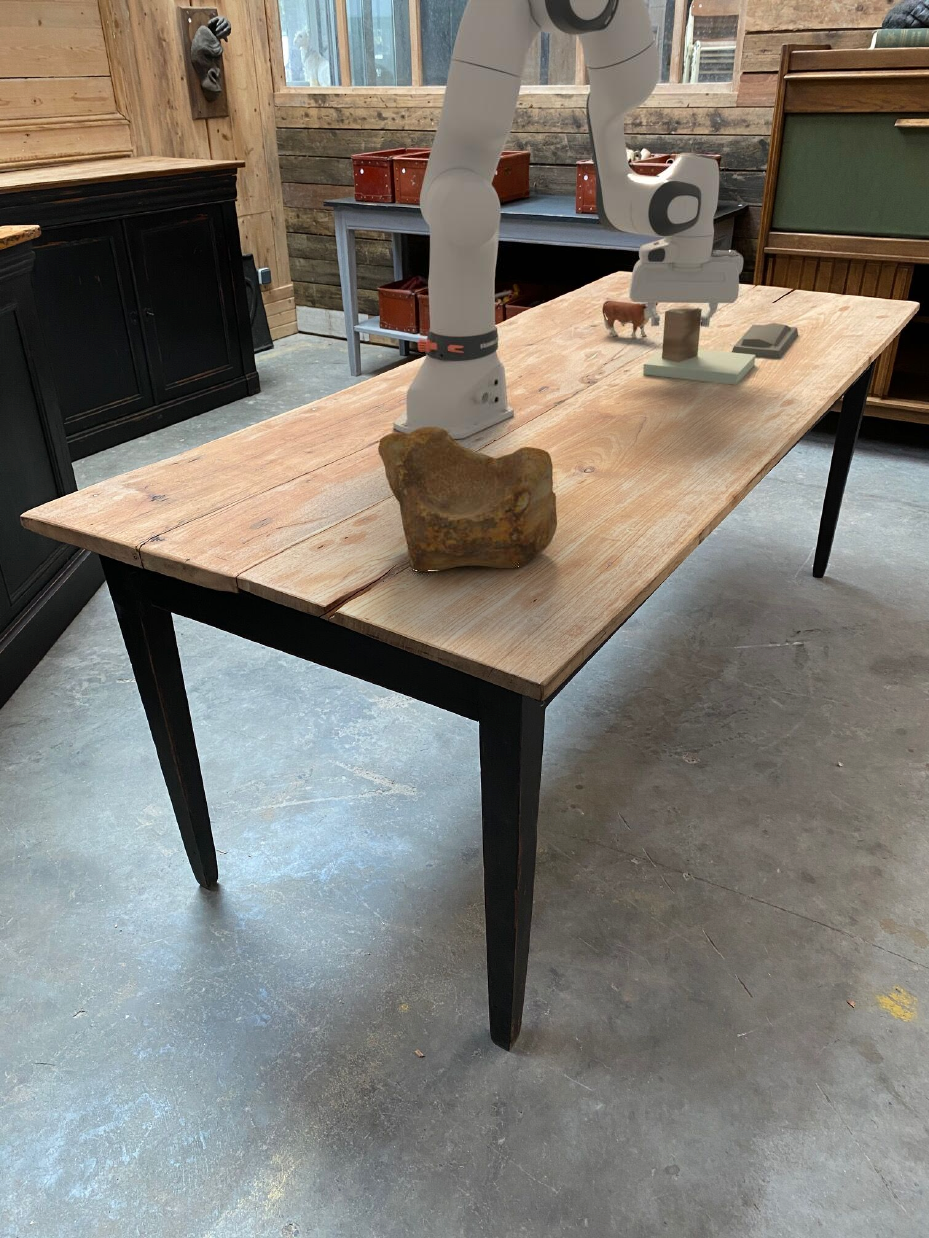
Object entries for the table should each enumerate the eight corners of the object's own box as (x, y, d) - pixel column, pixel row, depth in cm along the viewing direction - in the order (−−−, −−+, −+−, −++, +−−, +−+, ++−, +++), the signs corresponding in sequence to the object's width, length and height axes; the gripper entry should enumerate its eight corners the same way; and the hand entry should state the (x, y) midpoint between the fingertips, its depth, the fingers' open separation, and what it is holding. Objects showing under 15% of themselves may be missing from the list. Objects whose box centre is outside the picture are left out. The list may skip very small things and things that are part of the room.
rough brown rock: (344, 577, 116) (330, 470, 108) (400, 514, 129) (392, 412, 120) (520, 613, 109) (520, 501, 100) (562, 542, 121) (565, 437, 113)
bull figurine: (652, 342, 201) (655, 303, 197) (598, 334, 209) (599, 296, 204) (662, 338, 204) (665, 299, 200) (608, 330, 211) (609, 292, 207)
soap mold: (798, 337, 203) (801, 320, 202) (779, 361, 188) (782, 344, 187) (750, 333, 208) (752, 317, 206) (728, 356, 193) (730, 339, 191)
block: (678, 362, 181) (682, 313, 176) (661, 358, 184) (665, 310, 179) (697, 356, 184) (701, 307, 180) (681, 352, 187) (685, 304, 182)
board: (736, 385, 174) (737, 374, 173) (643, 374, 182) (643, 364, 181) (754, 365, 185) (755, 354, 184) (665, 355, 192) (666, 346, 191)
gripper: (742, 247, 176) (732, 322, 183) (631, 247, 178) (626, 321, 185) (747, 253, 170) (737, 330, 177) (633, 252, 172) (627, 329, 179)
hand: (679, 326), depth 181 cm, fingers open, 8 cm apart
